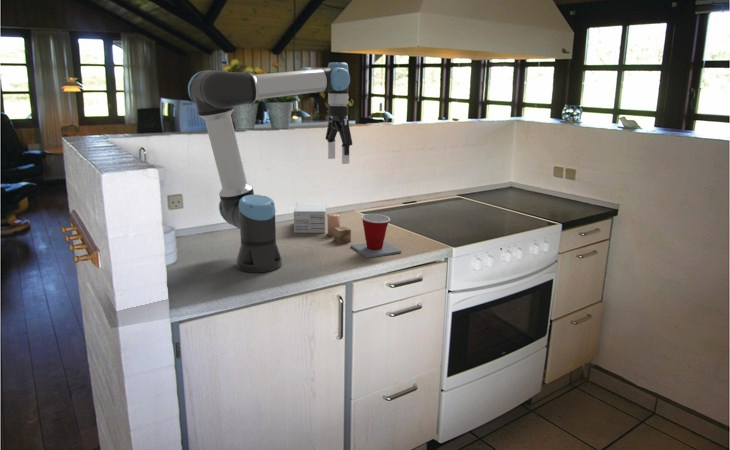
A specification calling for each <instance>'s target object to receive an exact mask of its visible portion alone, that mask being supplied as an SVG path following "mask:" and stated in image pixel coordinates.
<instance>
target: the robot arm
mask: <svg viewBox="0 0 730 450" xmlns="http://www.w3.org/2000/svg"><path fill="white" fill-rule="evenodd" d="M350 84H351V75H350V73H349V65H348V63H347V62H334V61H333V62H328V65H327V67H310V66H308V67H301V69H300V70H291V71H283V72H282V71H281V72H272V73H271V72H270V73H259V74H258V73H257V74H252V73H251V72H249V71H246V72H245V71H244V72H235V71H226V70H210V69H205V70H201V71H198V72H197V73H195V74H194V75H192V76H191V78H190V80H189V82H188V85H187V92H188V96H189V99H191V101H192V102H193V103H194V104H195V106H196V110H197V114H198V117H200V118H201V119H203V121H204V122H205V126H206V131H207V133H208V138H209V141H210V142H209V143H210V146H211V149H212V154H213V158H214V161H215V162H214V163H215V165H216V170H217V173H218V177H219V182H220V186H221V189H220V191H219V194H218V195H219V199H220V201H219V203H218V210H219V214H220V216H221V217H222V218H223V220H224V221H225V222H227V223H228V224H229V225H230V226H233V227H236V228H237V229H239V231H240V247H239V250H238V254H237V257H236V268H237V269H238V270H240V271H242V272H245V273H254V274H255V273H267V272H272V271H275V270H277V269H280V267H282V265H283V262H282V256H281V253H280V250H279V248H278V244H277V239H276V238H277V237H276V235H277V234H276V232H277V230H276V212H277V211H276V205H275V202H274V200H273V199H272V198H271V197H270V196H267V195H261V194H255V193H254V188H253V186H252V185H251V184H249V183H248V182H247V177H246V174H245V170H244V165H243V161H242V157H241V152H240V149H239V144H238V140H237V139H238V138H237V136H236V131H235V127H234V124H233V120H232V119H233V118H232V113H234V111H235V107H238V106H239V107H240V106H243V105H250V104H255V102H256V101H257V100H262V99H271V98H281V97H289V96H295V95H304V94H312V93H320V92H328V93H327V94H328V95H327V98H328V100H327V103H328V105H329V106H328V107H327V109H328V122H327V129H326V134H325V140H327V156H328V158H327V159H328V160H331V159H332V160H333V159H335V160H336V137H337V134H339V136H340V140H341V143H342V145H341V164H342V165H345V164H346V165H347V164H350V147H351V146H353V139H352V134H351V129H350V121H349V119H348V118H346V119H345V117H347V116H349V106H348V105H349V98H350V96H349V85H350Z"/></svg>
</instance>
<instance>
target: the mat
mask: <svg viewBox="0 0 730 450" xmlns="http://www.w3.org/2000/svg"><path fill="white" fill-rule="evenodd" d="M350 248H352V249H353V250H354V251H355V252H357V253H358V254H360V255H362V256H364V258H367V259H369V258H370V259H371V258H376V257H383V256H390V255H396V254H402V250H401V249H399V248H397V247H395V246H393V245H392V244H389V243H388V242H387V241H385V240H384V242H383V247H382V249H379V250H371V249H368V248H367V245H366V242H365V243H357V244H350Z"/></svg>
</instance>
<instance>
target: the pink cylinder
mask: <svg viewBox="0 0 730 450" xmlns="http://www.w3.org/2000/svg"><path fill="white" fill-rule="evenodd" d="M336 227H341V214H339V213H329V214H327V235H328V236H331V237H332V236H333V237H334V228H336Z"/></svg>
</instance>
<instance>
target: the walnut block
mask: <svg viewBox="0 0 730 450" xmlns="http://www.w3.org/2000/svg"><path fill="white" fill-rule="evenodd" d="M351 237H352V229H350V228H349V227H347V226H340V227H336V228H334V236H333V240H334V241H336V242H337V243H338V244H342V243H343V244H345V243H350V242H351V241H352V238H351Z"/></svg>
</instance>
